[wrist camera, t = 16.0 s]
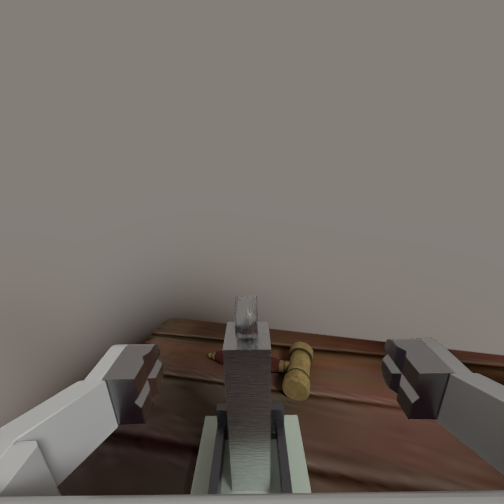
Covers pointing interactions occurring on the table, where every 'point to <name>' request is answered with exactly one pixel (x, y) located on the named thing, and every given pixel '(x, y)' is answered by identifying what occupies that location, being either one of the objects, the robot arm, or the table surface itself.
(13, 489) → the robot arm
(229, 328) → the steel link
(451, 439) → the table surface
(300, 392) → the gavel
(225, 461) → the keeper bracket
